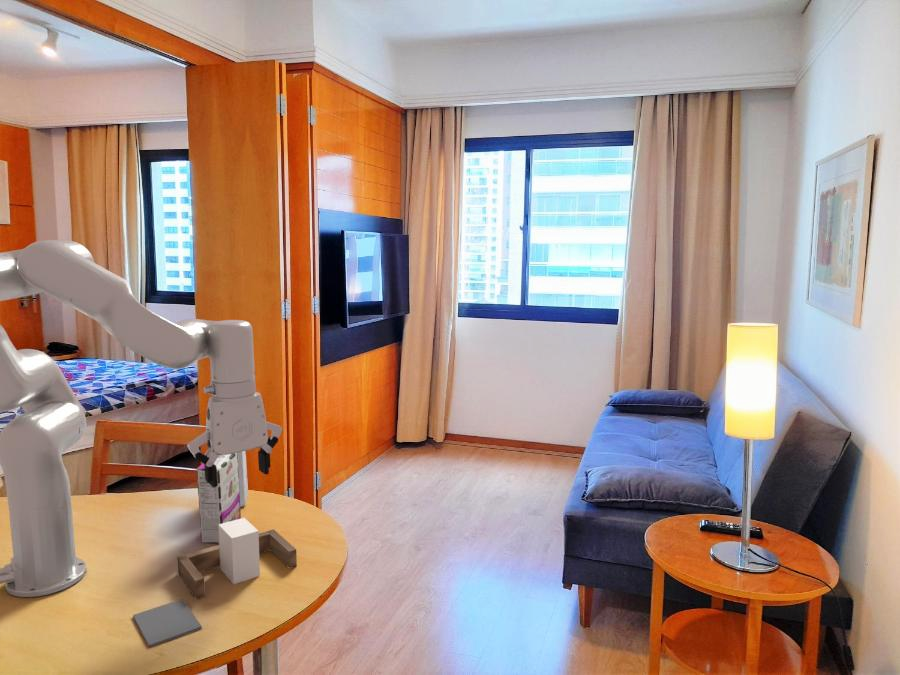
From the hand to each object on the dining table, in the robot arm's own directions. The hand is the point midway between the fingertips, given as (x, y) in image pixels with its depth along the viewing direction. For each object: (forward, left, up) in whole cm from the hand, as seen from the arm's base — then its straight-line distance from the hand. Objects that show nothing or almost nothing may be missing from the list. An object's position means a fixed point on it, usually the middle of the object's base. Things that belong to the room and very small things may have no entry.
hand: (239, 478), depth 119 cm
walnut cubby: (0, 0, -19) cm, 19 cm away
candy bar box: (+3, +19, -19) cm, 27 cm away
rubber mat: (-16, -8, -19) cm, 26 cm away
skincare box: (+11, +33, -19) cm, 39 cm away
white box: (0, 0, -19) cm, 19 cm away
